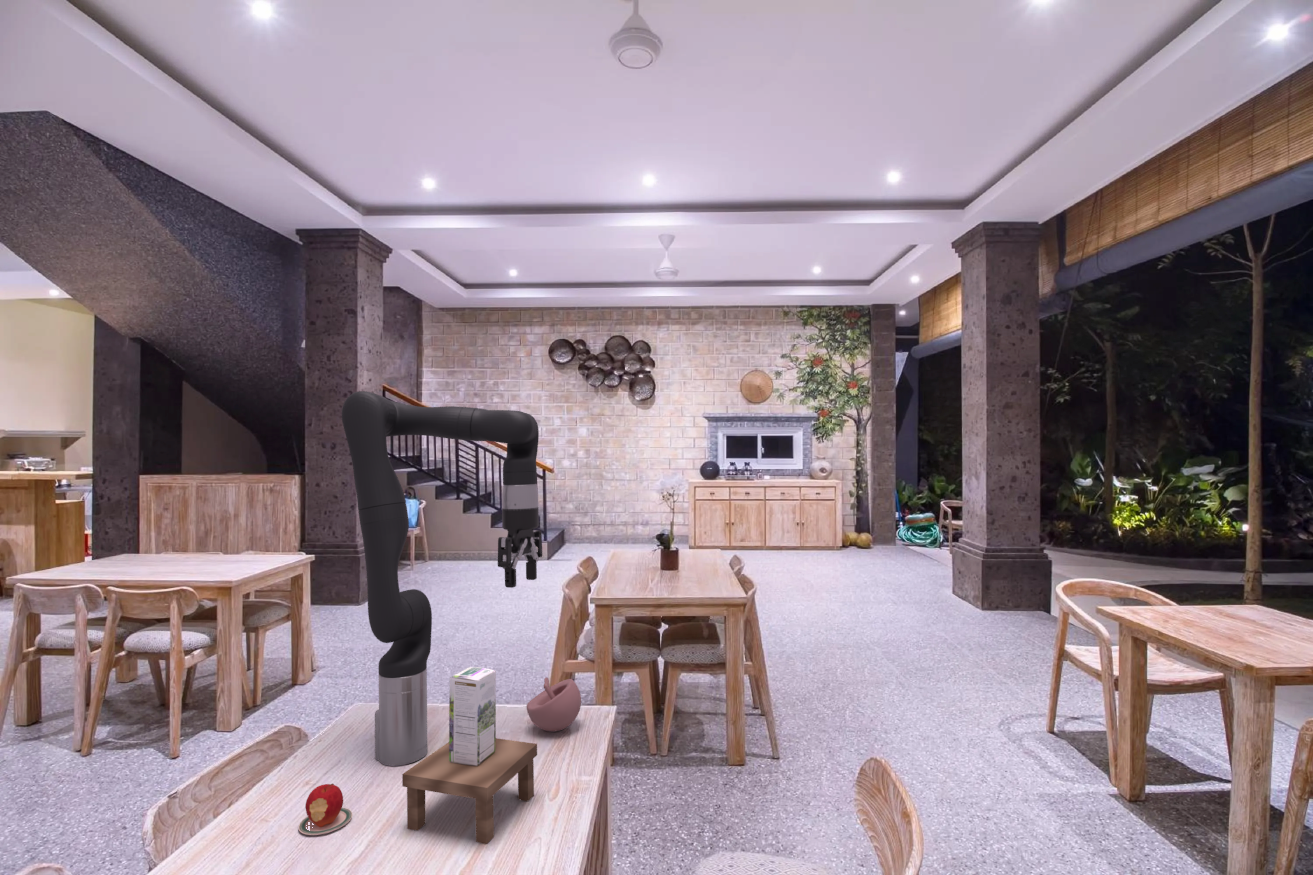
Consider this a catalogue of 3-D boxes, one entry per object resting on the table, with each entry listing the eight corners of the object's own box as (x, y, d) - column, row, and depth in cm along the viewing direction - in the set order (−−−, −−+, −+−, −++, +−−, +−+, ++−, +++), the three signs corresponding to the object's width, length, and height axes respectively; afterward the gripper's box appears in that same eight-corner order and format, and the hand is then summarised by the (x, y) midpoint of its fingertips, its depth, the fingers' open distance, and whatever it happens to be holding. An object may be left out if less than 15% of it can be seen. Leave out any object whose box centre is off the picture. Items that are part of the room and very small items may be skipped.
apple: (358, 824, 107) (358, 784, 108) (305, 843, 102) (305, 802, 102) (344, 805, 113) (344, 767, 114) (293, 823, 108) (293, 783, 108)
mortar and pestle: (531, 719, 149) (530, 669, 149) (583, 717, 150) (582, 667, 150) (522, 742, 137) (522, 687, 137) (579, 739, 138) (578, 685, 138)
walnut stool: (402, 829, 105) (402, 773, 106) (461, 782, 120) (460, 733, 121) (487, 846, 100) (487, 787, 101) (537, 794, 115) (537, 743, 116)
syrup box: (468, 747, 115) (467, 665, 115) (497, 752, 113) (496, 668, 113) (448, 762, 109) (447, 676, 110) (478, 767, 107) (477, 679, 108)
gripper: (518, 508, 128) (519, 591, 127) (552, 503, 141) (553, 577, 141) (485, 508, 130) (486, 589, 130) (521, 503, 144) (522, 576, 143)
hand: (521, 583), depth 135 cm, fingers open, 8 cm apart
